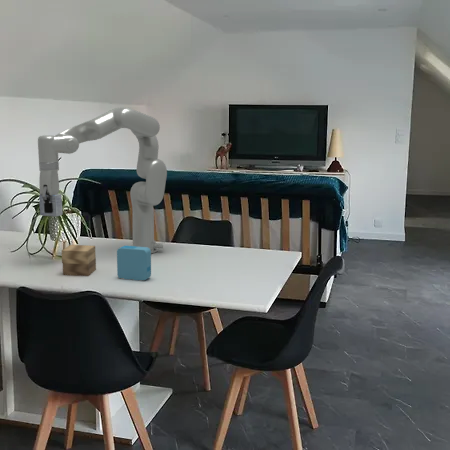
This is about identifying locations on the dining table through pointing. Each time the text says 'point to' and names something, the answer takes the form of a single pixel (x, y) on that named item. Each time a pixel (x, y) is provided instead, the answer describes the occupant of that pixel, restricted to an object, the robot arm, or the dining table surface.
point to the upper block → (78, 254)
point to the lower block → (79, 269)
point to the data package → (134, 262)
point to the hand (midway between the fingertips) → (51, 211)
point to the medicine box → (56, 205)
